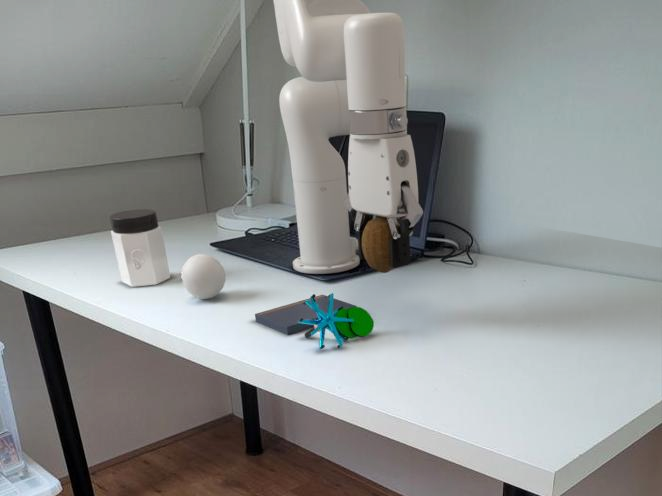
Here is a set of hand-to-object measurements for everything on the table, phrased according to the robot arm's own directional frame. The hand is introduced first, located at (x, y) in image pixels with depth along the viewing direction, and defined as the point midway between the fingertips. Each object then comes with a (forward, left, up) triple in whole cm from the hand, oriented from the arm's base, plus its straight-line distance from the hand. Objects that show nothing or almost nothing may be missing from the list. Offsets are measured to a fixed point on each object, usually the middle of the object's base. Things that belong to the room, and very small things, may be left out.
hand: (384, 260), depth 107 cm
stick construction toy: (+10, 0, -9) cm, 14 cm away
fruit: (0, 0, -2) cm, 2 cm away
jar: (+15, -52, -9) cm, 55 cm away
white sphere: (+13, -34, -9) cm, 38 cm away
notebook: (+7, -11, -9) cm, 16 cm away
